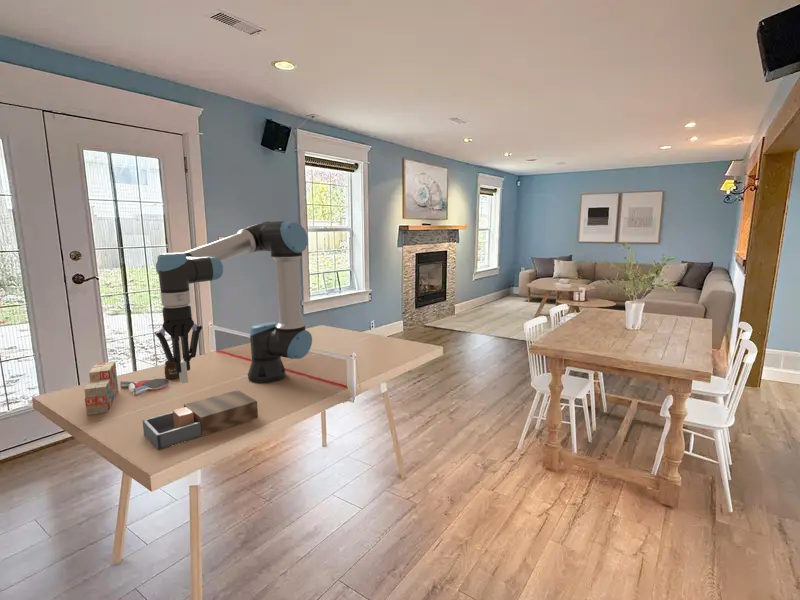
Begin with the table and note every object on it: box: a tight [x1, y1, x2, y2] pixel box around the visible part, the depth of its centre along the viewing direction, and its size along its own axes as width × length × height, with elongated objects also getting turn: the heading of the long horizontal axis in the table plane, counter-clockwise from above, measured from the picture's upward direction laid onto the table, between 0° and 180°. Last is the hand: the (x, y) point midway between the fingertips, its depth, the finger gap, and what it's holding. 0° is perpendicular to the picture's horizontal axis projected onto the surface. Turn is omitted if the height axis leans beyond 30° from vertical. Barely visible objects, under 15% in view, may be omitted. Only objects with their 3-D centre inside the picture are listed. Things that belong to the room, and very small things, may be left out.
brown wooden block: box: [183, 389, 259, 437], centre depth 141 cm, size 18×14×6 cm
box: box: [142, 411, 202, 451], centre depth 131 cm, size 12×14×4 cm
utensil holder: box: [163, 357, 180, 380], centre depth 182 cm, size 6×6×12 cm
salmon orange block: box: [172, 406, 194, 429], centre depth 133 cm, size 6×6×4 cm
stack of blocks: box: [84, 361, 119, 416], centre depth 155 cm, size 21×6×12 cm, turn 25°
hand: (184, 381), depth 132 cm, fingers closed
